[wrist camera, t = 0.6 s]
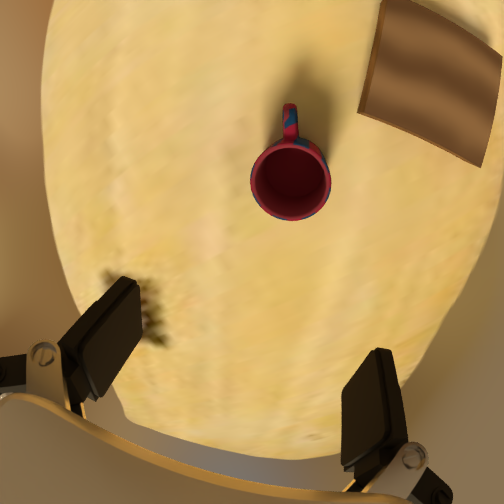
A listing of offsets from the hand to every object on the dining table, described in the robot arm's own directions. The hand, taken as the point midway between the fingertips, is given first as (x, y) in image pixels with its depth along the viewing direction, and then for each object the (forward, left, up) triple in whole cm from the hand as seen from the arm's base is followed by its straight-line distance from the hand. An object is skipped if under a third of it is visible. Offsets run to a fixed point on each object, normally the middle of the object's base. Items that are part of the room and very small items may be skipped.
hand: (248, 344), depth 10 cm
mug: (-4, 0, -22) cm, 23 cm away
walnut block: (-17, +12, -23) cm, 31 cm away
